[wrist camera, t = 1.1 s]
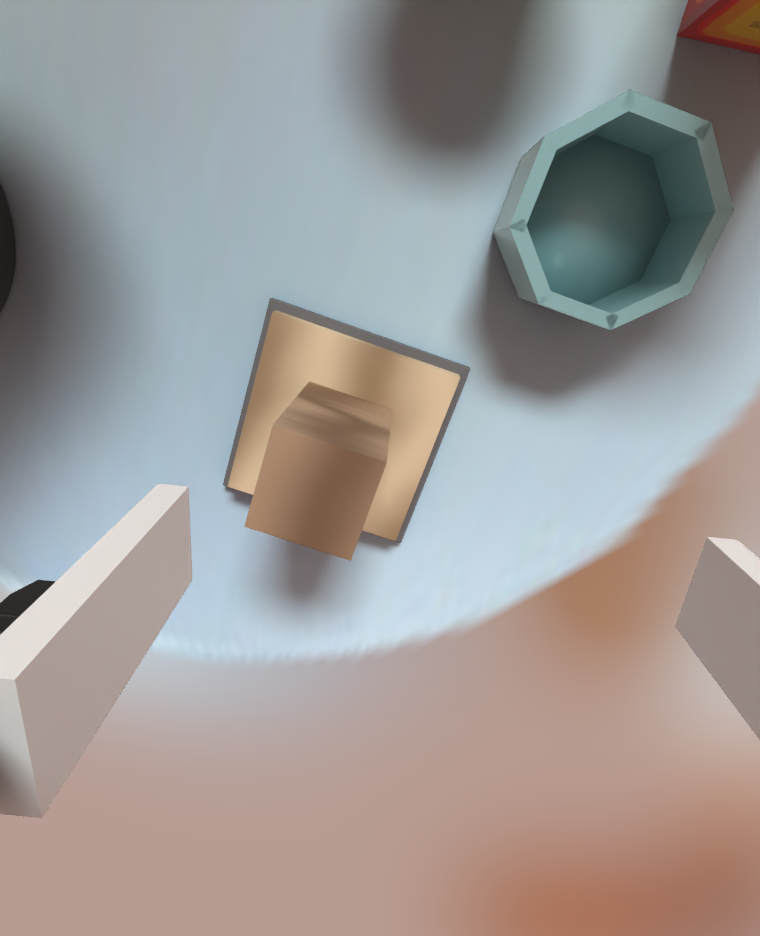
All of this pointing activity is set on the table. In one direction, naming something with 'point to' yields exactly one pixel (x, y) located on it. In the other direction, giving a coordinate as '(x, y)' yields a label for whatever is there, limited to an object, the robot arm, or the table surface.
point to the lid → (335, 436)
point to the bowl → (615, 211)
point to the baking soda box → (723, 23)
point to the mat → (369, 338)
